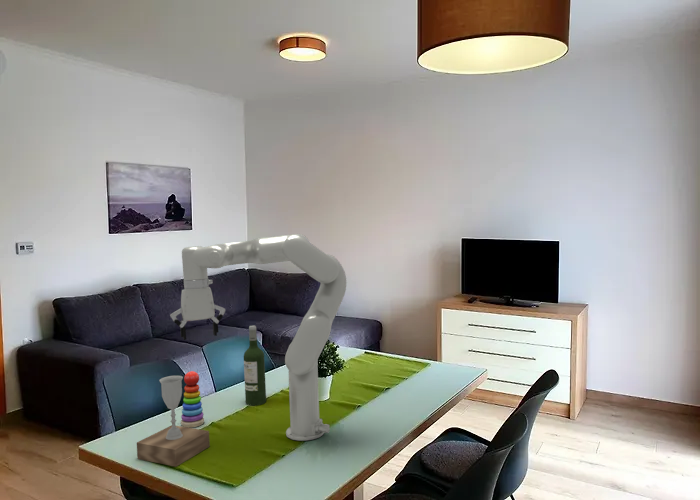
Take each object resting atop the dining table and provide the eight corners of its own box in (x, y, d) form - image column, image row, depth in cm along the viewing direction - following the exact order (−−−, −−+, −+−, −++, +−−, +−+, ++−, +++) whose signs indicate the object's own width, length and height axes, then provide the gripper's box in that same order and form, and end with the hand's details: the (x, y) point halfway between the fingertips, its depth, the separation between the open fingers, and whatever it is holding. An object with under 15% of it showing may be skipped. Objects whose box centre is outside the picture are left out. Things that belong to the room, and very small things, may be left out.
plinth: (209, 446, 172) (208, 431, 172) (175, 466, 159) (175, 449, 158) (173, 440, 178) (172, 425, 178) (137, 458, 165) (136, 442, 165)
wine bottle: (241, 404, 211) (238, 327, 209) (252, 398, 218) (249, 323, 217) (259, 406, 208) (255, 328, 206) (270, 400, 215) (266, 324, 214)
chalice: (178, 441, 164) (175, 382, 163) (157, 440, 165) (154, 382, 164) (190, 432, 171) (187, 375, 170) (170, 431, 173) (167, 375, 172)
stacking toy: (183, 430, 187) (180, 376, 186) (179, 422, 194) (176, 370, 193) (206, 425, 190) (204, 372, 189) (201, 418, 197) (199, 367, 196)
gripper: (221, 281, 183) (224, 331, 184) (167, 286, 177) (171, 338, 178) (225, 283, 177) (228, 335, 177) (169, 288, 170) (173, 342, 171)
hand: (200, 337), depth 178 cm, fingers open, 9 cm apart
